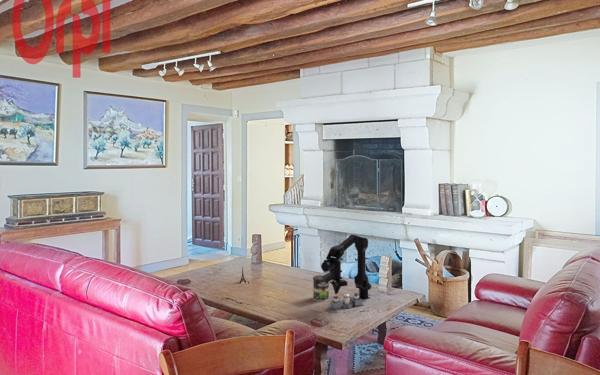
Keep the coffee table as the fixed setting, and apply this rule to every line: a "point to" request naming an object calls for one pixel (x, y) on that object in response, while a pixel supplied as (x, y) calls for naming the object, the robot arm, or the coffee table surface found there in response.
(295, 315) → the coffee table surface
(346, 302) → the cartridge
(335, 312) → the rubber pad
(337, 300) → the plunger
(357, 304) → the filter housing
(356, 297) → the plunger
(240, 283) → the eiffel tower figurine
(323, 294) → the coffee can
